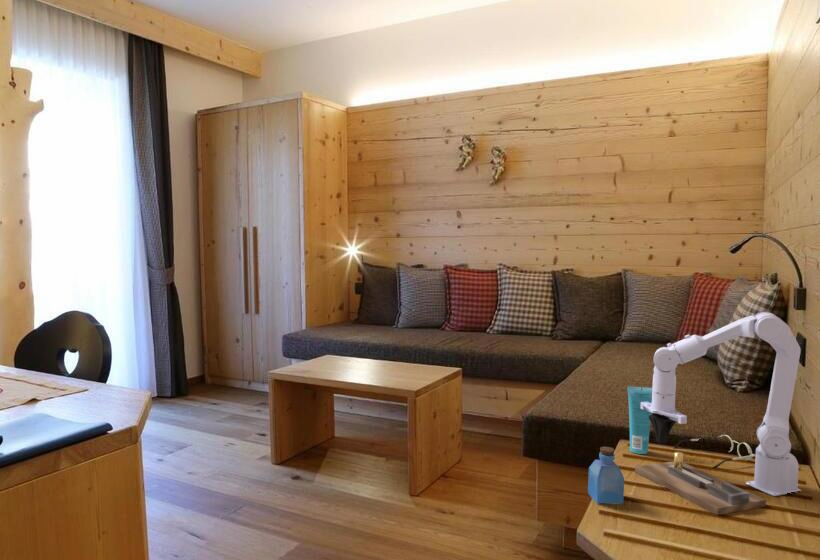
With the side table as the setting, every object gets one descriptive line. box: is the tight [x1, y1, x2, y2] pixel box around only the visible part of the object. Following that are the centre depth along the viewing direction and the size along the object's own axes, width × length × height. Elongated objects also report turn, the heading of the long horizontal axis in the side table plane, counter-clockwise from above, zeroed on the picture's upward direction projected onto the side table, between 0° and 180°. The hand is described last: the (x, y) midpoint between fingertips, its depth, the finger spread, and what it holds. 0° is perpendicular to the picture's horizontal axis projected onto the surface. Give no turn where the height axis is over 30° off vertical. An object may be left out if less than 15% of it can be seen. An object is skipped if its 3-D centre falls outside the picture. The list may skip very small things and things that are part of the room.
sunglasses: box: [673, 434, 756, 469], centre depth 168 cm, size 17×15×5 cm
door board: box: [634, 460, 767, 516], centre depth 145 cm, size 15×26×4 cm, turn 20°
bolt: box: [669, 451, 713, 489], centre depth 146 cm, size 2×12×5 cm, turn 20°
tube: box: [627, 385, 652, 455], centre depth 169 cm, size 7×5×19 cm, turn 85°
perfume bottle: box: [587, 446, 625, 505], centre depth 137 cm, size 6×6×12 cm
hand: (661, 442), depth 155 cm, fingers closed
